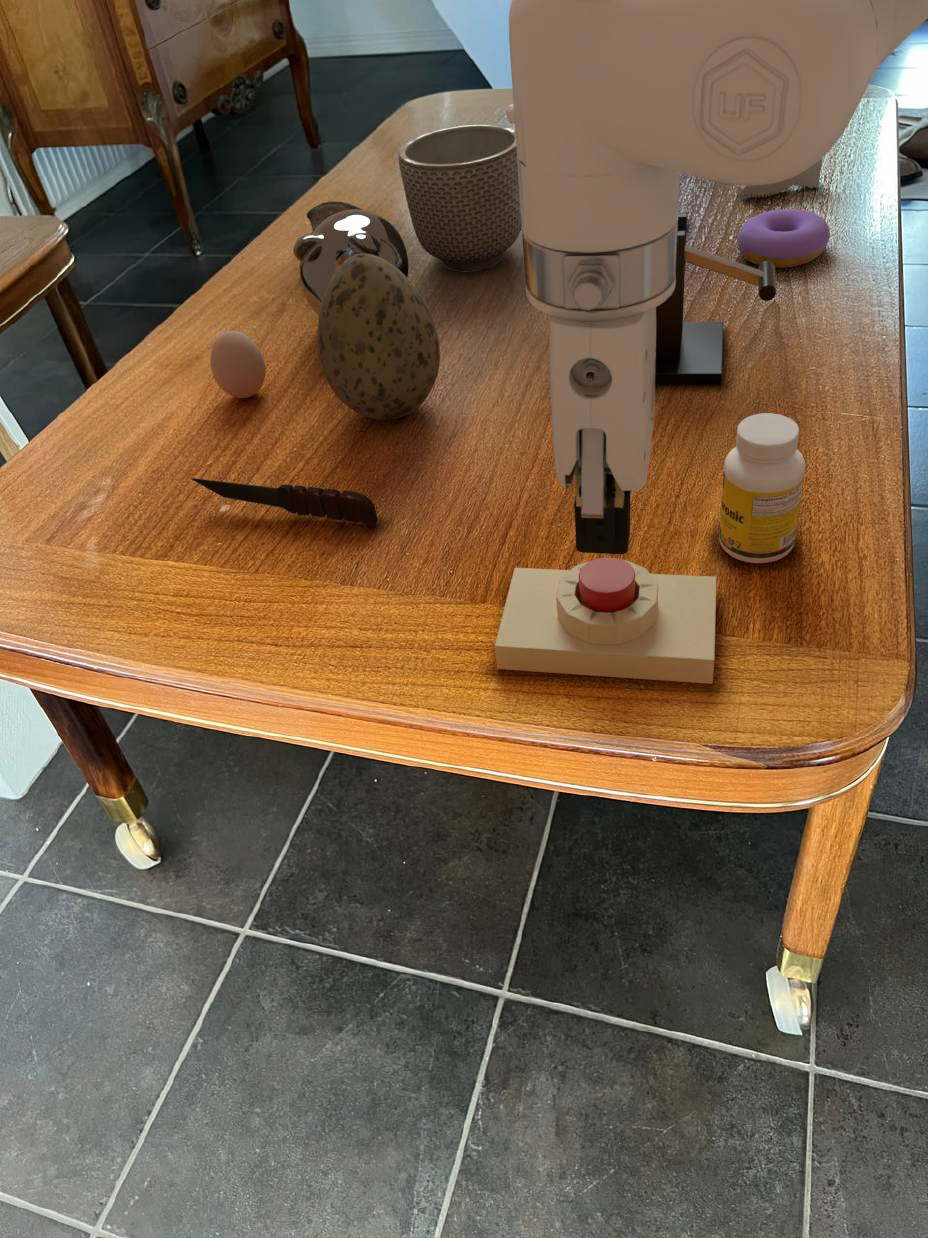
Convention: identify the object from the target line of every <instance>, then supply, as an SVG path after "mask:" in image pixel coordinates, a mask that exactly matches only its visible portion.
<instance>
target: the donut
mask: <svg viewBox="0 0 928 1238" xmlns="http://www.w3.org/2000/svg"><path fill="white" fill-rule="evenodd" d="M830 232H831V230H830V227H829V224H828V223H827V221H826V220H825V219H824V218H823V217H822V216H820V215H819V214H817V213H815V212H812V211H810V210H805V209H799V208H782V209H781V208H780V209H773V210H767V211H764V212H762V213H761V212H760V213H759V214H756V215H755V216H753V217H751V218H749V219H748V220H747V221H745V223H744V224H743V225H742V226H741V228H740V231H739V232H738V234H737V236H736V238H737V246H738V249H739V251H740V252H739V253H741V255H742V256H743V257H744V259H746V260H747V261H749V262H750V263H752V264H754V265H757V266H759V265H760V264H761V263H762V262H764V261H770V262H772V263H773V264H774V266H775V269H777V268H778V269H784V268H794V267H798V266H801V265H802V266H803V265H805V264H807V263H809V262H812V261H814V260H815V259H816V258H819V256H820V255H822V254H823V252H824V251H825V249H826V247H827V245H828V243H829V241H830V238H831V233H830Z"/></svg>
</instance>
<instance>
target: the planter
mask: <svg viewBox="0 0 928 1238" xmlns="http://www.w3.org/2000/svg"><path fill="white" fill-rule="evenodd" d="M398 167H399V173H400V176H401V181H402V186H403V190H404V196H405V199H406V204H407V208H408V212H409V216H410V219H411V223H412V227H413V230H414V232H415V236H416V238H417V240H418V242H419V245H421V247H422V249H423V250H425V251H426V252H427V254H429V255H430V256H431V257H433V258H435V259H437V260H439V261H441V263H442V264H443V265H444V267H446V268H447V269H449V270H451V271H454V272H455V271H456V272H461V273H462V272H463V273H465V272H466V273H467V272H468V273H469V272H478V271H482V270H485V269H488V268H492V267H493V266H495V265H496V264H498V263H499V262H500V261H501V260H502V258H503V256H504V253H505V252H506V251H507V250H509V249H510V248H511V247H512V246H513V245H514V243H515V242H516V241H517V239H518V238H519V235H520V234H521V232H522V223H521V208H520V193H519V178H518V163H517V149H516V134H515V128H513V127H510V126H506V125H501V124H495V123H471V124H460V125H454V126H453V125H452V126H447V127H443V128H439V129H434V130H432V131H428V132H425V133H423V134H420V135H418V136H415V137H414V138H411V139H410V140H408V141H406V142H405V143H404V144H403V145H402V146H401V147H400V149H399V151H398Z"/></svg>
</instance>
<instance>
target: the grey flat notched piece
mask: <svg viewBox="0 0 928 1238" xmlns="http://www.w3.org/2000/svg"><path fill="white" fill-rule="evenodd" d="M822 164H823V158H822V159H821V160H819V161H818V162H817V163H815V164H814V165H813V166H811V167H810V168H808V169H807V170H805V171H804V172H802V173H800V174H798V175H796V176H795V177H792V178H790V179H787V180H784V181H780V182H777V183H773V184H768V185H755V186H743V185H738V189H739V190H740V192H741V193H742V194H743V195H745V196H747V197H751V198H764V197H765V198H767V196H768V197H770V196H773V195H776V194H779V192H781V193H783V192H785V190H788V189H790V188H792V187H796V186H802V185H803V186H805V187H806V188H809V189H813V188H815V189H819V185H820V178H821V172H822V166H823V165H822Z"/></svg>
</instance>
